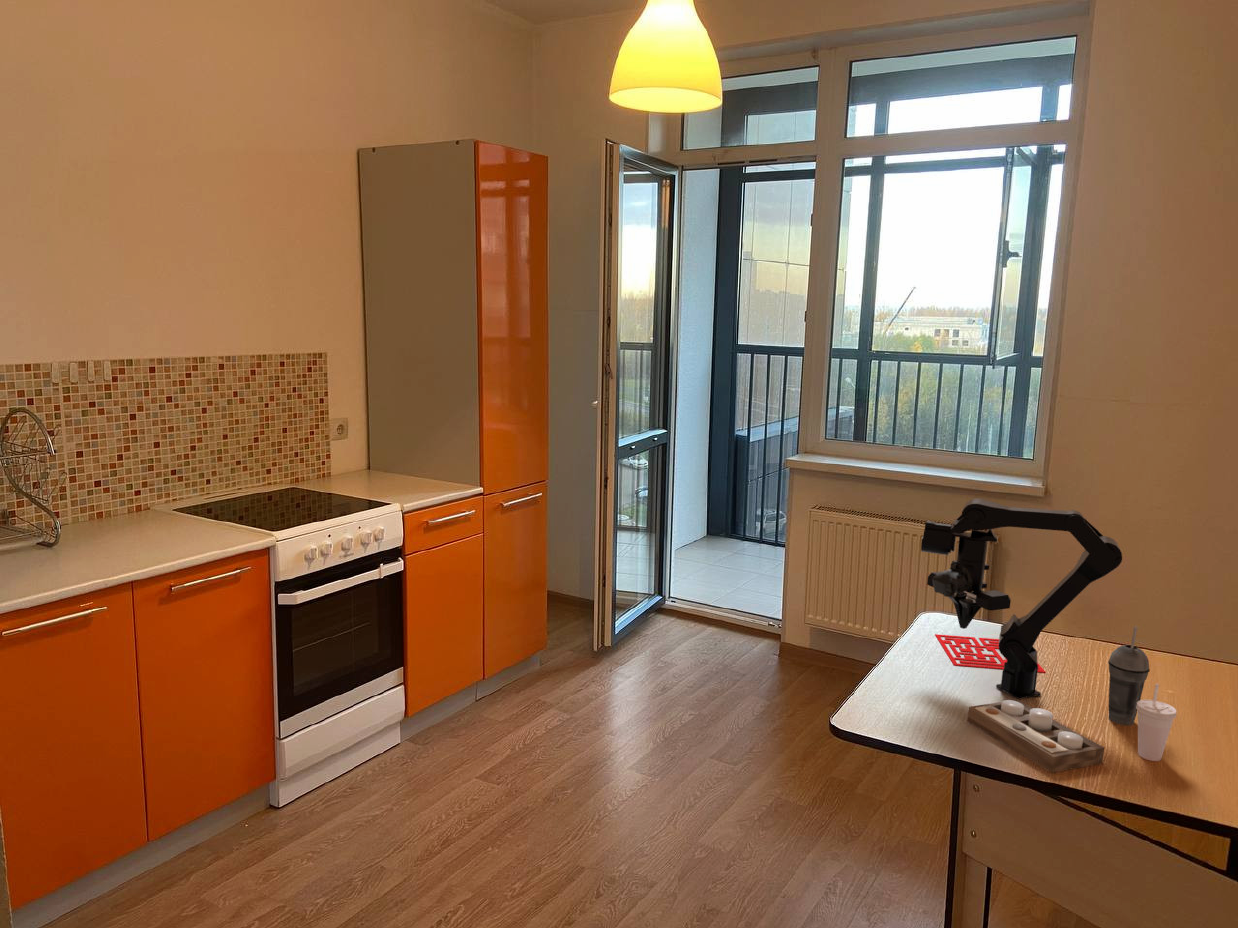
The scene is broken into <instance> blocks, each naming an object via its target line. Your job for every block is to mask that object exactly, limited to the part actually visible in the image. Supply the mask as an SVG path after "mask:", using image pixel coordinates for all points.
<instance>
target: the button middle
mask: <svg viewBox="0 0 1238 928" xmlns="http://www.w3.org/2000/svg"><path fill="white" fill-rule="evenodd" d="M1032 708H1033V709H1030V714H1029V722H1028V726H1029V727H1031V728H1032V729H1034V730H1036V731H1038V732H1048V731H1051V729H1052V721H1053V720H1054V714H1053V713H1052V712H1051V711H1049V710H1047V709H1044V708H1039V707H1035V708H1034V707H1032Z"/></svg>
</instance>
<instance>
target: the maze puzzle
mask: <svg viewBox="0 0 1238 928" xmlns="http://www.w3.org/2000/svg"><path fill="white" fill-rule="evenodd" d="M934 636H935V638H936V639H937V641H938V642H939V644H940V646H941V647H942V649H943V650H944V652H945V654H946V656H947V657H948V659H949V660H950V662H951V663H952V665H953V666H954V667H955V666H956V667H963V668H965V667H967V668H976V669H978V668H980V669H989V670H990V669H991V670H1002V671H1003V670H1004V664H1005V662H1007V658H1005V657H1004V659H1003V658H1002V655H1000V653H999V652H998V651H997V650H999V638H988V637H978V639H977V638H976V637H974V636H961V635H949V634H938V633H936V634H934ZM942 638H944V639H942ZM970 640H971V641H972V642H973V644H972V642H971V641H970ZM978 640H979V641H978ZM952 641H953V642H954V643H955V644H953V642H952ZM986 641H988V643H987V642H986ZM980 642H981V643H980ZM962 644H963V645H964V647H963V646H962ZM981 644H982V645H981ZM947 645H949V647H950V649H951V651H952V652H953V654H954V655H953V654H952V653H951V651H950V650H949V648H948V646H947ZM956 648H958V649H959V651H958V650H957V649H956ZM972 648H974V650H975V652H974V651H973V649H972ZM985 650H986V651H987V652H992V653H993V654H989V653H983V652H985ZM982 651H983V652H982ZM960 654H961V655H960ZM962 655H963V657H962ZM974 656H975V657H976V658H975V657H974ZM986 657H987V658H988V659H987V658H986ZM995 658H996V659H997V660H998V661H999V662H1000V663H998V661H997V660H996V659H995ZM957 661H959V663H958V662H957ZM1038 673H1039V674H1046V670H1044V668H1043V667H1042V666H1041V665H1040V664H1039V663H1038V672H1037V674H1038Z"/></svg>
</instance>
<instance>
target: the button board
mask: <svg viewBox="0 0 1238 928" xmlns="http://www.w3.org/2000/svg"><path fill="white" fill-rule="evenodd" d="M1012 701H1017V702H1019V703H1021V704H1023V705H1024V710H1023V715H1020V716H1013V717H1011V716H1010V715H1008V714H1006V713H1004V712H1003V711H1001V705H1002V701H998V702H993V703H986V704H979V705H973V706H972V705H971V706H969V707H968V712H967V719H966V721H967V722H968V723H969V724H971V725H973V726H975V727H976V728H978V729H980V731H983V732H984V733H986V734H988V735H989V736H991V737H992V738H994V739H996V740H997V741H999V742H1001V743H1002V744H1003V745H1006V746H1007V747H1009V748H1011V749H1012V750H1014V751H1015V752H1016V753H1018V754H1020V755H1022V756H1024V757H1025V758H1027V759H1028V760H1030V761H1031V762H1033V763H1035V764H1036V765H1038V766H1039V767H1041V768H1042V769H1045V770H1046V771H1048V772H1050V773H1053V774H1054V773H1058V772H1063V771H1068V770H1073V769H1078V768H1079V769H1080V768H1085V767H1089V766H1094V765H1099V764H1100V765H1101V764H1103V763H1104V754H1105V747H1104V746H1103V745H1101V744H1098V743H1097V742H1096V741H1093V740H1091V739H1090V738H1087V737H1086V736H1084V735H1083V734H1080V733H1078V732H1077V731H1075V730H1073V729H1071V728H1070V727H1067V726H1066V725H1064V724H1062V723H1060V722H1059V721H1057V720H1055V719H1053V721H1052V729H1051V731H1048V732H1038V731H1036V730H1034V729H1032V728H1031V727H1029V726H1028V722H1029V714H1030V709H1033V708H1034V707H1031V706H1029V705H1028V704H1025V703H1023V702H1022V701H1020V700H1018V699H1012ZM1063 731H1066V732H1072V733H1075V734H1078V735H1080V736H1081V737H1082V738H1083V742H1082V748H1081V749H1076V750H1069V749H1067V748H1065V747H1064V746H1062V745H1060V744H1058V743H1057V741H1058V734H1059V732H1063Z"/></svg>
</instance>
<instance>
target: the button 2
mask: <svg viewBox="0 0 1238 928" xmlns="http://www.w3.org/2000/svg"><path fill="white" fill-rule="evenodd" d="M1082 742H1083V738H1082V737H1081V736H1080V735H1078V734H1075V733H1072V732H1066V731H1063V732H1059V734H1058V741H1057V743H1058V744H1060V745H1062V746H1064V747H1065V748H1067V749H1069V750H1076V749H1081V748H1082Z"/></svg>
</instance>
